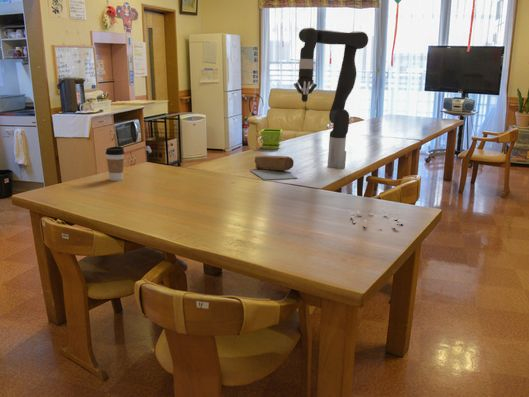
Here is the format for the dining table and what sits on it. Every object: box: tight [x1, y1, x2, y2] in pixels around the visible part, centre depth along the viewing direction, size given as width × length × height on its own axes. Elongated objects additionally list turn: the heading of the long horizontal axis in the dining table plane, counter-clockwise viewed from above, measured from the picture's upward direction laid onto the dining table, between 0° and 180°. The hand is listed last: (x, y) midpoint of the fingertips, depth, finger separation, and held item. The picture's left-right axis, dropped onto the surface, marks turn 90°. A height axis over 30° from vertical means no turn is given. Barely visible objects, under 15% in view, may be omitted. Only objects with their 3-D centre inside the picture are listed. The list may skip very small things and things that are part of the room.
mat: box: [249, 169, 298, 181], centre depth 252 cm, size 18×22×1 cm
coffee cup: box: [105, 146, 125, 182], centre depth 227 cm, size 8×8×15 cm
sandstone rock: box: [254, 155, 294, 172], centre depth 264 cm, size 11×8×20 cm
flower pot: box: [260, 128, 283, 150], centre depth 337 cm, size 14×14×13 cm
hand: (304, 101), depth 259 cm, fingers closed
